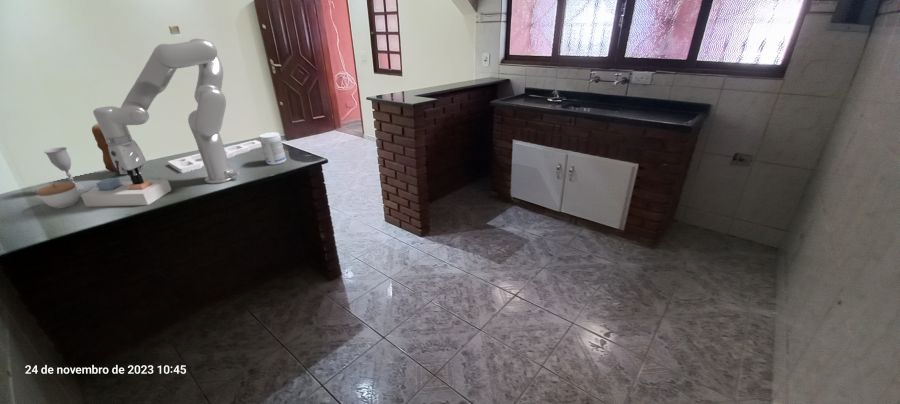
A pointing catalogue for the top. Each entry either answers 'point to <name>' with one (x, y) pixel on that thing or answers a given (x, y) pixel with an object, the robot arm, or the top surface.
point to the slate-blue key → (109, 184)
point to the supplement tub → (272, 148)
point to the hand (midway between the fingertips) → (138, 183)
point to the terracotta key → (140, 186)
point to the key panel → (127, 194)
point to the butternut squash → (103, 148)
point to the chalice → (62, 161)
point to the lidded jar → (59, 194)
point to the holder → (190, 163)
